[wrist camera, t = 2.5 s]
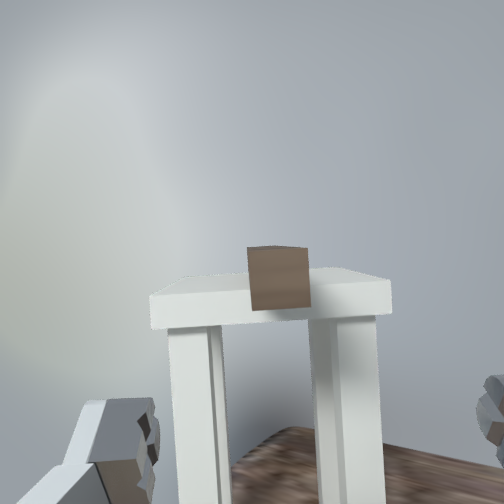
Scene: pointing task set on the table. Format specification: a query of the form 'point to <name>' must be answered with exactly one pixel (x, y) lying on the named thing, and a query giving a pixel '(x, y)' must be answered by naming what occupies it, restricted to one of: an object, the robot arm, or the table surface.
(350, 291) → the stool
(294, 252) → the wooden board
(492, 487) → the table surface
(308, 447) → the table surface
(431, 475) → the table surface
